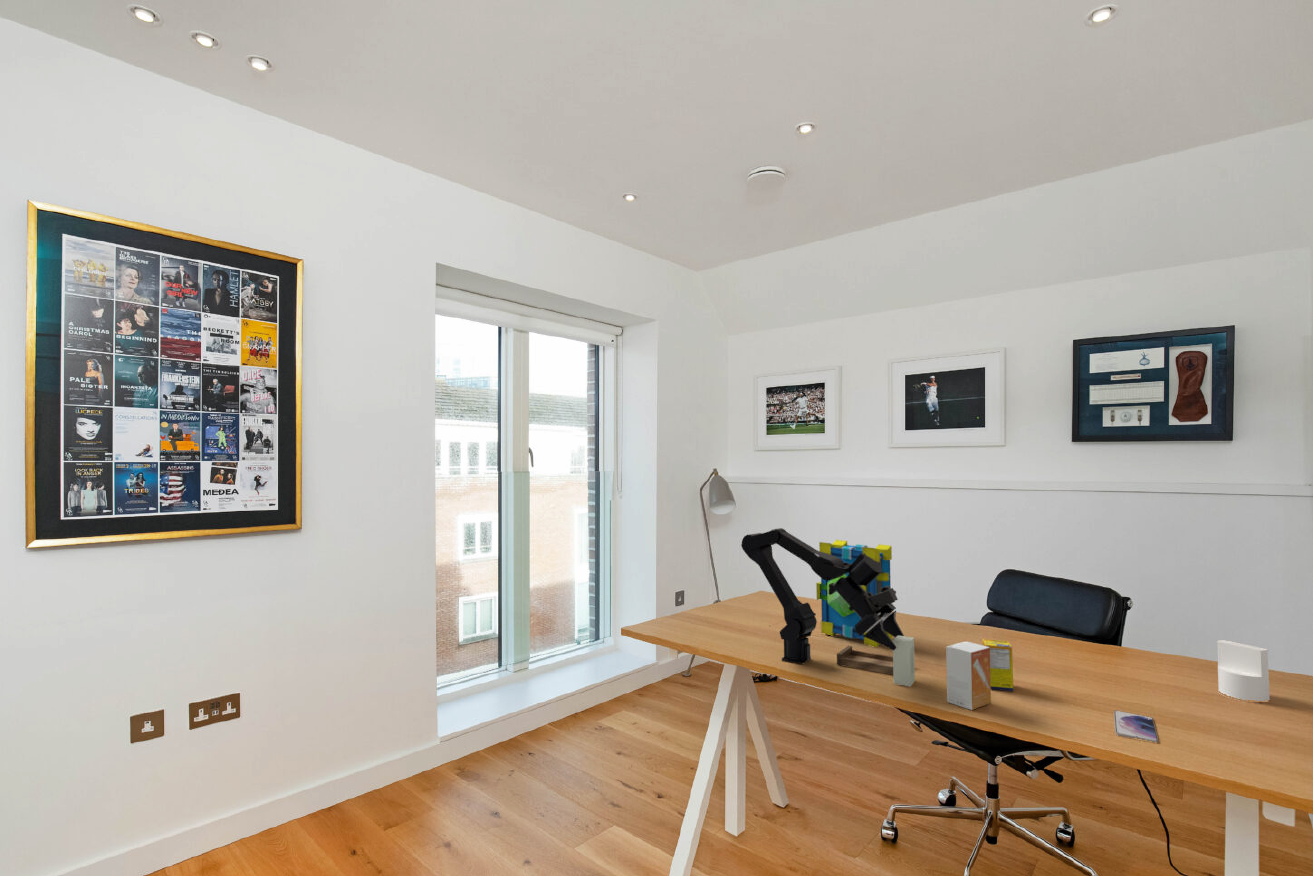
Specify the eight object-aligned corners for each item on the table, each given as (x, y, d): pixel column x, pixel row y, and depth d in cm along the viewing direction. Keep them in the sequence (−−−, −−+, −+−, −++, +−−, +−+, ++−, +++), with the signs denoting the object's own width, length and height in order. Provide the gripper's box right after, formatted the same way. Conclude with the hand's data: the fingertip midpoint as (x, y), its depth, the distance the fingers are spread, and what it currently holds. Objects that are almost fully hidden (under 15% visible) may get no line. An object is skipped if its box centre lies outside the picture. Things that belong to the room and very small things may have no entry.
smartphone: (1153, 717, 139) (1158, 742, 126) (1153, 721, 139) (1158, 746, 126) (1113, 709, 143) (1115, 732, 130) (1113, 713, 143) (1115, 737, 130)
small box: (972, 711, 143) (971, 652, 144) (946, 702, 149) (945, 645, 149) (992, 703, 148) (990, 646, 148) (966, 695, 153) (964, 640, 154)
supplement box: (1009, 684, 161) (1007, 640, 161) (1013, 692, 155) (1012, 646, 156) (982, 681, 163) (981, 638, 163) (986, 689, 157) (985, 644, 158)
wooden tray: (836, 664, 177) (836, 653, 177) (848, 656, 185) (848, 645, 185) (904, 677, 166) (904, 665, 166) (913, 667, 174) (913, 656, 174)
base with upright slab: (1210, 692, 154) (1208, 642, 155) (1231, 687, 158) (1229, 638, 159) (1257, 705, 146) (1255, 652, 147) (1278, 699, 150) (1276, 648, 150)
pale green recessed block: (893, 683, 161) (892, 639, 162) (898, 678, 166) (897, 635, 166) (910, 686, 159) (909, 642, 160) (915, 681, 163) (914, 637, 164)
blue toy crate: (838, 627, 217) (837, 539, 218) (902, 642, 199) (900, 545, 200) (813, 634, 208) (811, 542, 209) (877, 650, 190) (875, 549, 191)
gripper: (866, 582, 159) (913, 633, 153) (886, 572, 175) (931, 618, 168) (836, 610, 164) (881, 661, 157) (859, 598, 179) (900, 643, 172)
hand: (899, 644), depth 163 cm, fingers open, 9 cm apart
